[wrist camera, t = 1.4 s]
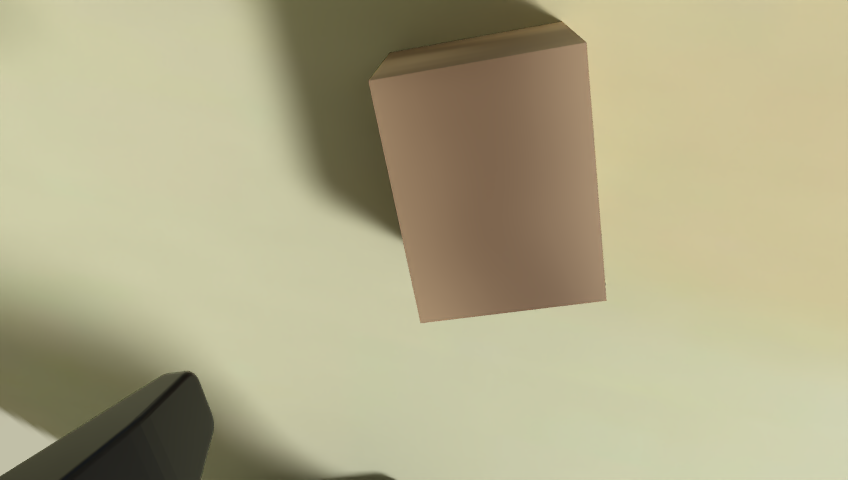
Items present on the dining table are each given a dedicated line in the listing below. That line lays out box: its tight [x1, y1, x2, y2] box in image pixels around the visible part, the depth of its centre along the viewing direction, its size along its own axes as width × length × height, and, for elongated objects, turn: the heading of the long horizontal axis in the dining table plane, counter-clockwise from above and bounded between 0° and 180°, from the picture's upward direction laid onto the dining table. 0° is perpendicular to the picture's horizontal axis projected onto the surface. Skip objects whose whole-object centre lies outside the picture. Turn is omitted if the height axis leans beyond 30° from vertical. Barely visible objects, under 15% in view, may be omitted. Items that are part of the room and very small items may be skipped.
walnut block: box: [368, 21, 606, 323], centre depth 16 cm, size 4×6×4 cm
